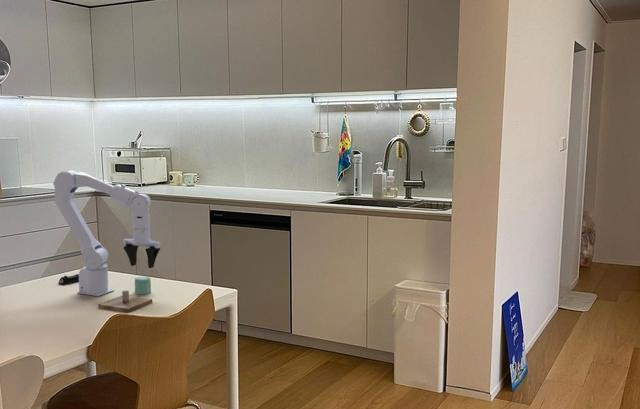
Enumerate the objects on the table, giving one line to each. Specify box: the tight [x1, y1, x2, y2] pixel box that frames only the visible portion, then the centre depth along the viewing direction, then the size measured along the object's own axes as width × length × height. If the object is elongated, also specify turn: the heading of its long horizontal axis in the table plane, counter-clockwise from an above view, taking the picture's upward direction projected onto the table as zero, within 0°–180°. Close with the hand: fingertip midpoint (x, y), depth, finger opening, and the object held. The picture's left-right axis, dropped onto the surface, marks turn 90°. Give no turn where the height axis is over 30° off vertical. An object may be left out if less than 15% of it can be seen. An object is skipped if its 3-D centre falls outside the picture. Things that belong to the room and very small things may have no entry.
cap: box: [134, 276, 152, 295], centre depth 213 cm, size 5×5×5 cm
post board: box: [97, 289, 153, 313], centre depth 198 cm, size 12×12×5 cm
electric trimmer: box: [58, 273, 79, 286], centre depth 228 cm, size 4×16×3 cm, turn 142°
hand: (142, 266), depth 212 cm, fingers open, 7 cm apart
